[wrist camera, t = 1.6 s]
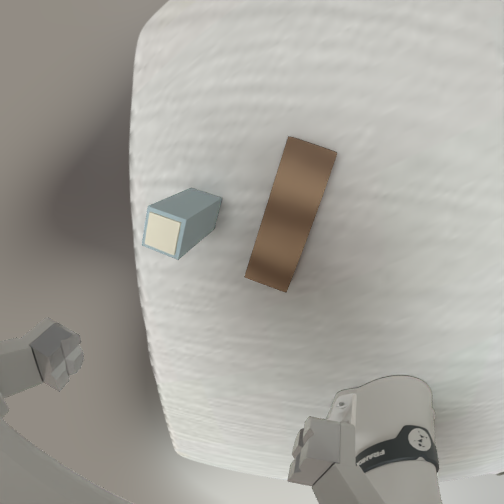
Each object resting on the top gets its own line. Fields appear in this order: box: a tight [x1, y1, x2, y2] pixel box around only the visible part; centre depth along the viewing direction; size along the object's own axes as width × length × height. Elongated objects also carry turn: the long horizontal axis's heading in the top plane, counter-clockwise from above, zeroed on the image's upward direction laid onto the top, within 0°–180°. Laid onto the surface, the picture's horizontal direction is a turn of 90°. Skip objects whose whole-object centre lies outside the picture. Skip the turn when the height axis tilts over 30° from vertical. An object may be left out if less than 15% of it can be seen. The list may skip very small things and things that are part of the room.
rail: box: [244, 136, 337, 292], centre depth 33 cm, size 16×5×3 cm, turn 164°
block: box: [142, 188, 222, 260], centre depth 32 cm, size 4×4×10 cm
